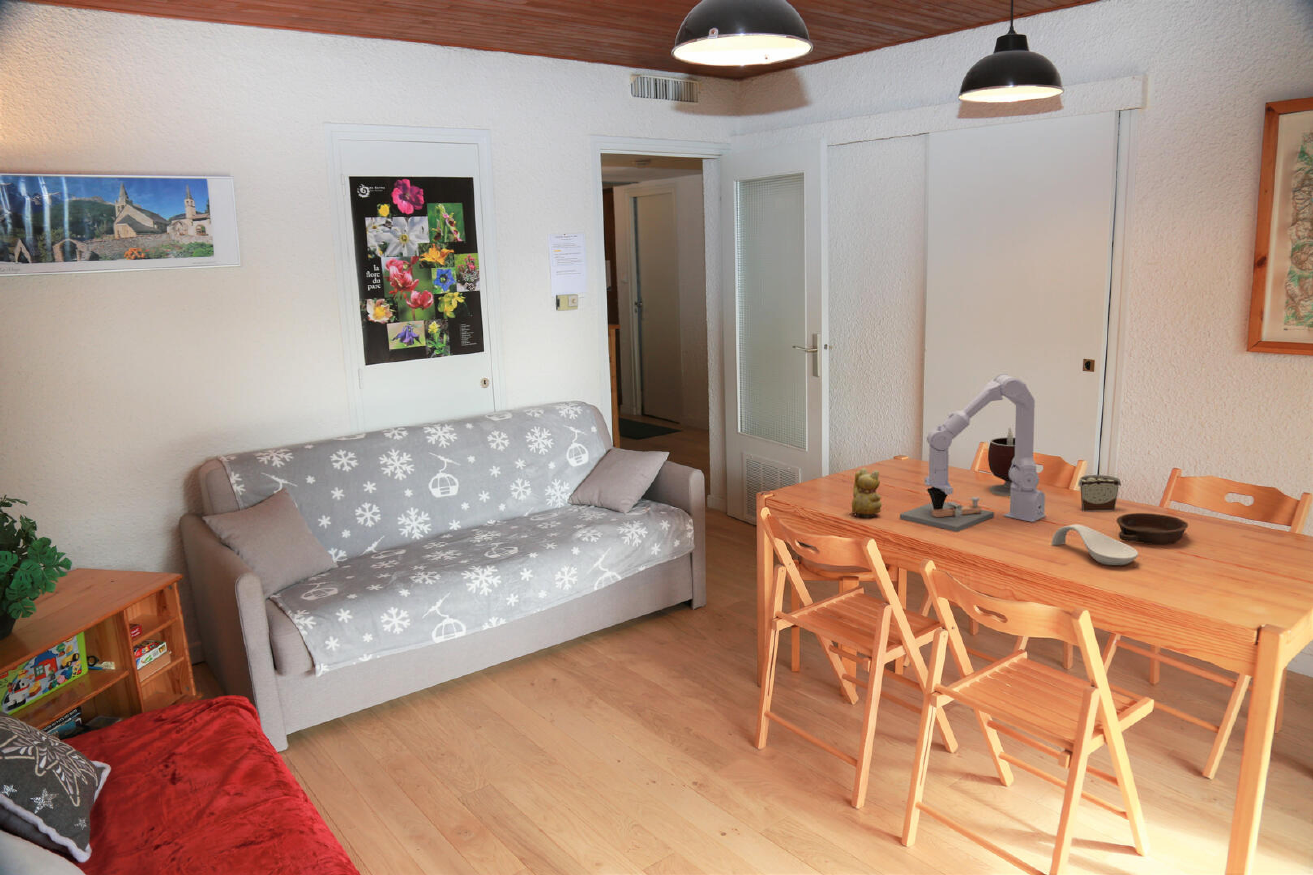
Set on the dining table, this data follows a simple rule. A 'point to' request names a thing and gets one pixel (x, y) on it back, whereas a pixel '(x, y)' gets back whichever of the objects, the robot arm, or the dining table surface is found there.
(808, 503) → the dining table surface
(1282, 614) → the dining table surface
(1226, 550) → the dining table surface
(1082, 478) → the food container
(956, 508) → the keeper
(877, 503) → the decorative figurine
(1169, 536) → the dish
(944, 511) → the link
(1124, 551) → the spoon rest
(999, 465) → the mate gourd
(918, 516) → the board
